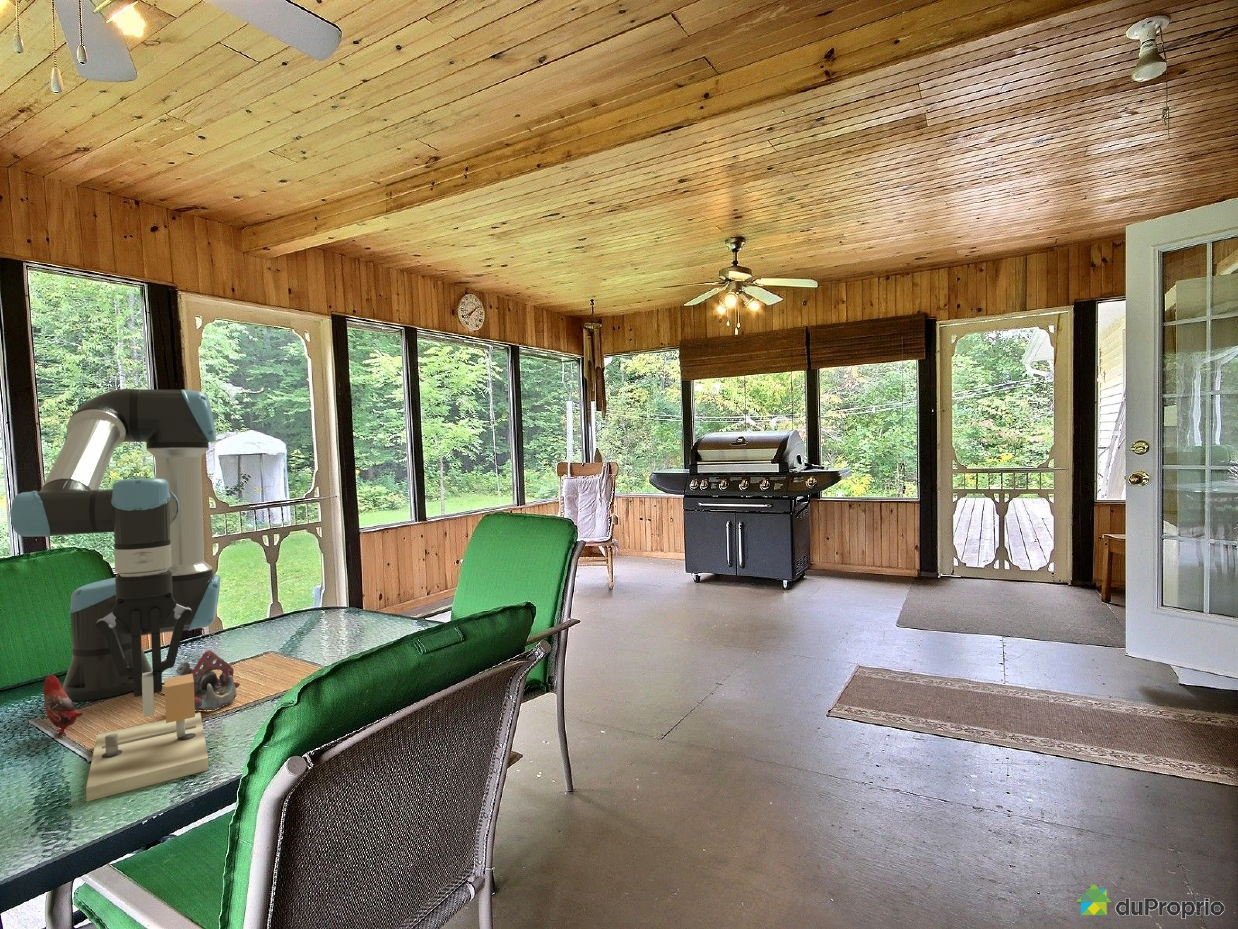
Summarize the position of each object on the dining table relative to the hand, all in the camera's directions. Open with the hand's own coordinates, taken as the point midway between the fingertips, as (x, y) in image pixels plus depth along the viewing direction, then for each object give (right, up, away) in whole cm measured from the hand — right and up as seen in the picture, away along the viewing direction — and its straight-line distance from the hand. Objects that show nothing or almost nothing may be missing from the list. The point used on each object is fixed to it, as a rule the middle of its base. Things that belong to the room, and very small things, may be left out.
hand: (148, 713), depth 106 cm
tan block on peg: (+3, -5, +3) cm, 7 cm away
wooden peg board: (0, -7, 0) cm, 7 cm away
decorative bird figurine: (-21, -8, +8) cm, 24 cm away
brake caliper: (-4, -7, +22) cm, 24 cm away
